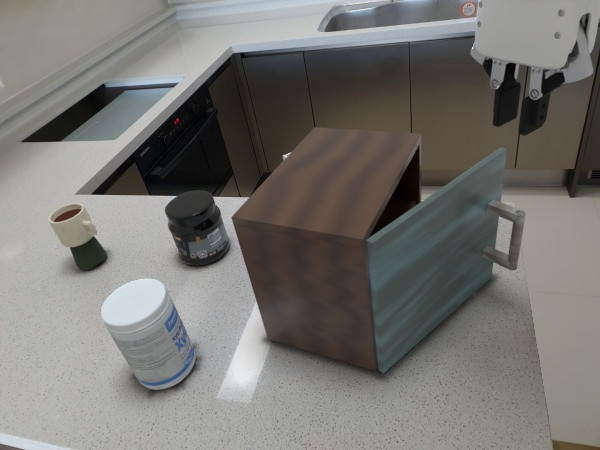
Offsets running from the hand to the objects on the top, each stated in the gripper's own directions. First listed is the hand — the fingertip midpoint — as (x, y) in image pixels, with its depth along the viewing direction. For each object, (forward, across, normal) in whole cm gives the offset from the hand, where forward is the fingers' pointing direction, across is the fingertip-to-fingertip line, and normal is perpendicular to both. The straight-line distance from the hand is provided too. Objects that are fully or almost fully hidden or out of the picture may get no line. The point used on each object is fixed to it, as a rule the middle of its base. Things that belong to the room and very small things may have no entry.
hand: (517, 124), depth 49 cm
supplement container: (+33, +49, +26) cm, 65 cm away
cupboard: (+33, +20, +11) cm, 40 cm away
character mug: (+33, +63, +47) cm, 86 cm away
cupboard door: (+33, +3, +4) cm, 33 cm away
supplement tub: (+33, +26, +43) cm, 60 cm away
